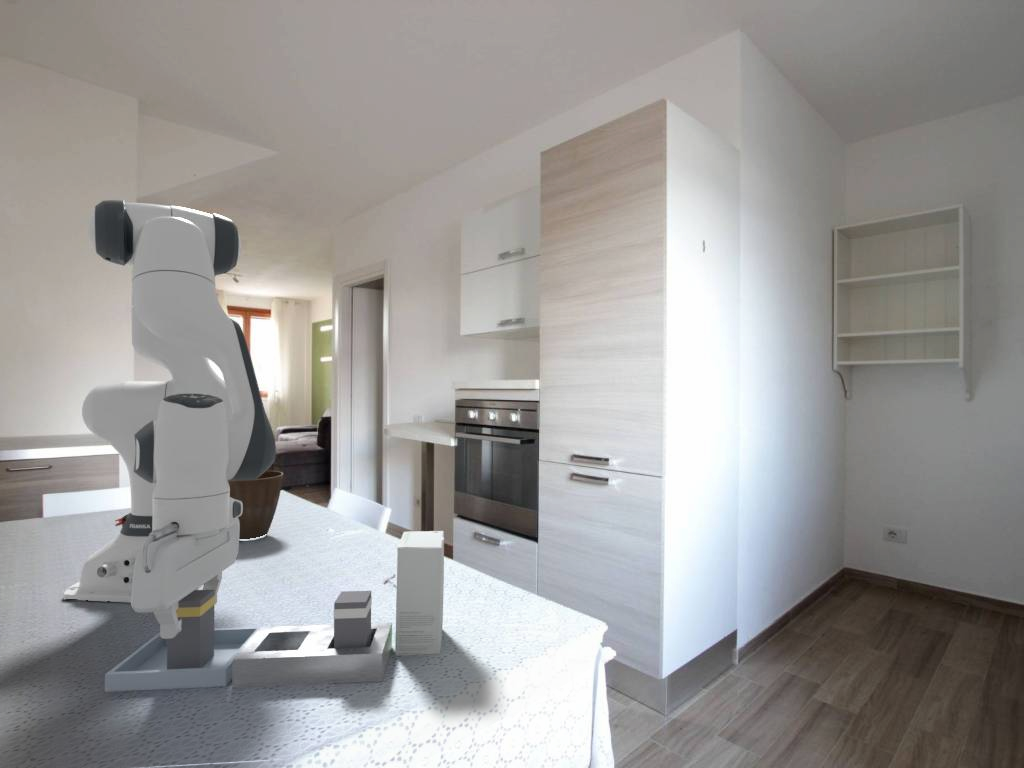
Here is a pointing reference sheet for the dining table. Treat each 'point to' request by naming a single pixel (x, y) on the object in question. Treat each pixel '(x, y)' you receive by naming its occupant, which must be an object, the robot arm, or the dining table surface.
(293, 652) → the double slot holder
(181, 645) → the plug
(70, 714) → the dining table surface
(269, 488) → the plant pot
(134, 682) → the tray
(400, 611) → the skincare box
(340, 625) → the twin plug
